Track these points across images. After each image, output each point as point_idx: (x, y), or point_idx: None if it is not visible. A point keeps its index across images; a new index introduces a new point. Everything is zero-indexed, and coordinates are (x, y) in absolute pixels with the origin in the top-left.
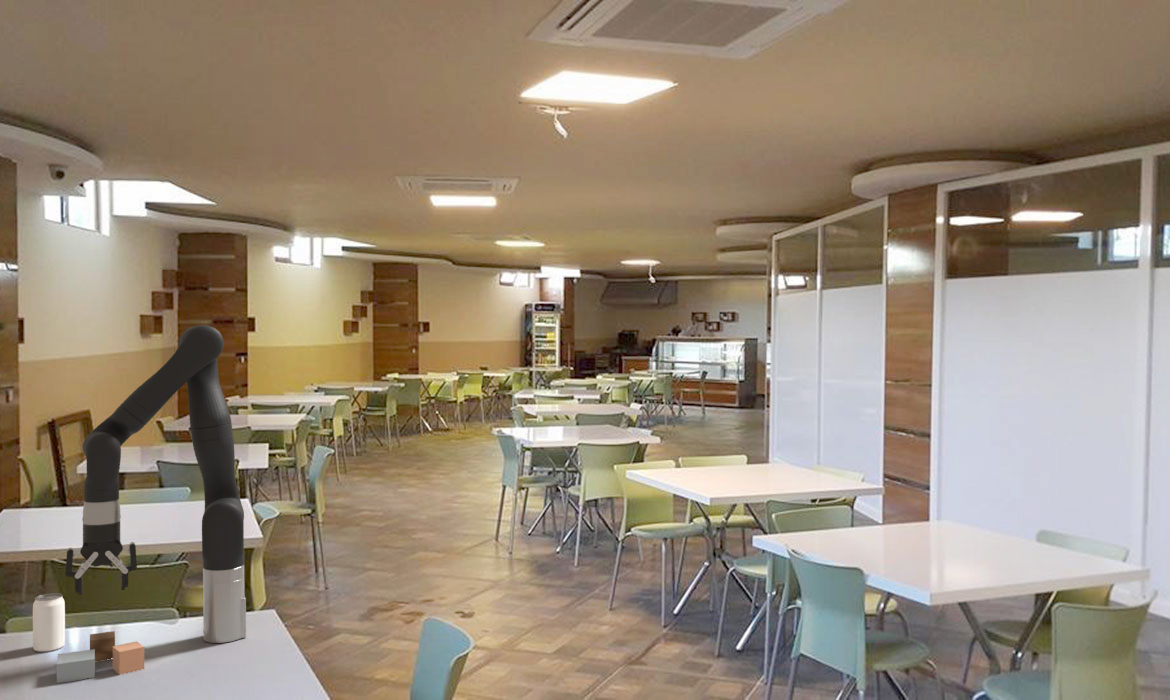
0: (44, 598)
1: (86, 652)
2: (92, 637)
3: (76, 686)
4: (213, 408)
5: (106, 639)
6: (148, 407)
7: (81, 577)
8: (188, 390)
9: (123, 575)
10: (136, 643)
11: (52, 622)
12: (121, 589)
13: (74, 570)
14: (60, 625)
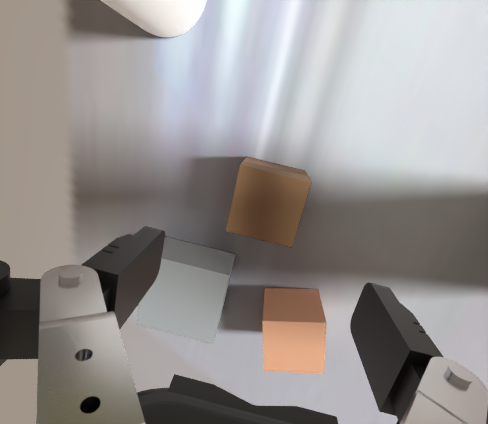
0: None
1: (206, 288)
2: (238, 204)
3: (183, 337)
4: None
5: (269, 241)
6: None
7: (110, 304)
8: None
9: (391, 406)
10: (318, 338)
11: (131, 8)
12: (351, 328)
13: (14, 308)
14: (168, 3)
